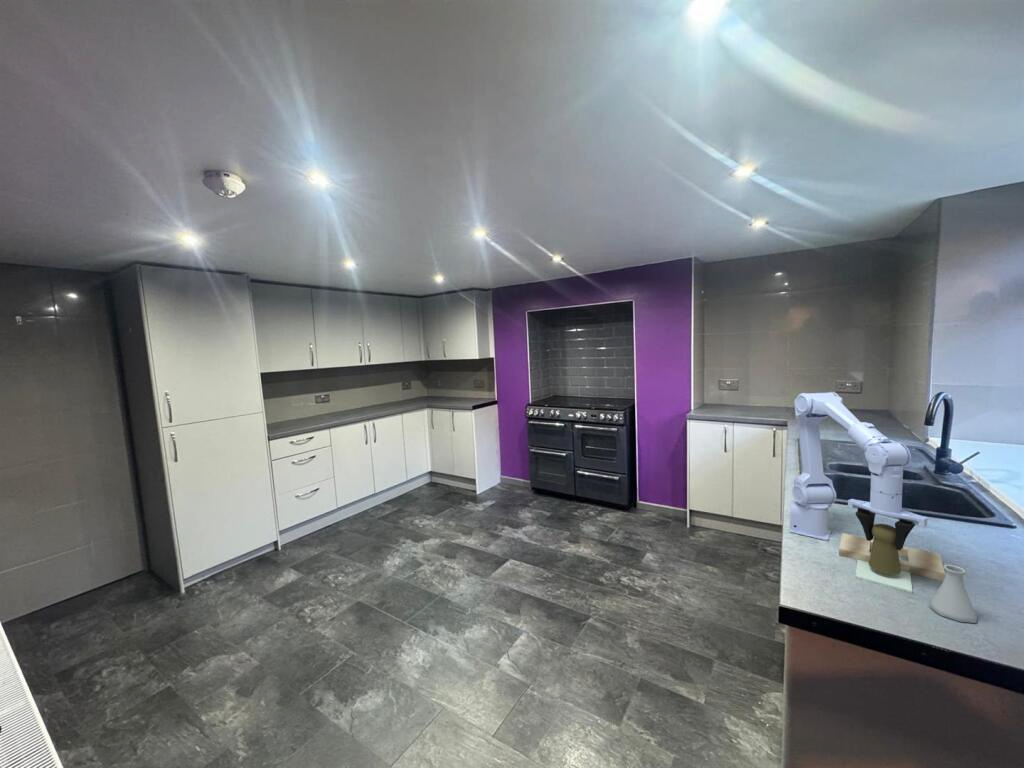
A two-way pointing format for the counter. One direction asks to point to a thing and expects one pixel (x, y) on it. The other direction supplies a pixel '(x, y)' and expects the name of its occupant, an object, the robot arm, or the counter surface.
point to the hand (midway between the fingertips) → (884, 544)
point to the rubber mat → (884, 577)
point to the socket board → (916, 564)
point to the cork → (884, 550)
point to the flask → (953, 597)
